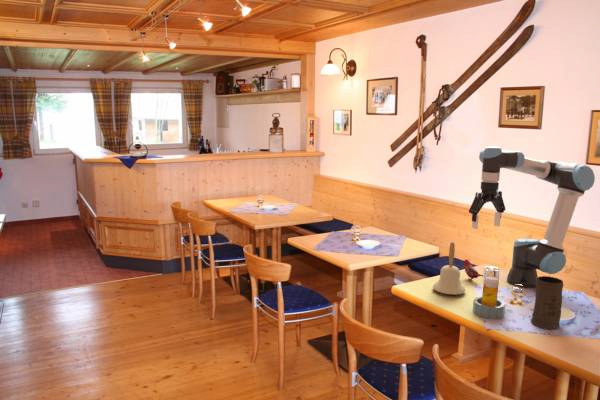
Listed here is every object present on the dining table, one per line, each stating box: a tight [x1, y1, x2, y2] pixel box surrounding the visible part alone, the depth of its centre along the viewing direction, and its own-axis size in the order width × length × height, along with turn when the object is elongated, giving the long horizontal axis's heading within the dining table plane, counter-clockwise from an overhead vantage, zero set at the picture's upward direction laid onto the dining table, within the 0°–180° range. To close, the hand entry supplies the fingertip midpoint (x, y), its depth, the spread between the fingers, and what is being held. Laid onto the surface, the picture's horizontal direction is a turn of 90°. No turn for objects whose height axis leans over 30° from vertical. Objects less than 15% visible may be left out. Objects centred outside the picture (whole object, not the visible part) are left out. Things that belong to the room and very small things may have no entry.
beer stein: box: [530, 275, 564, 330], centre depth 207 cm, size 15×11×20 cm
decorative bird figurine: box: [463, 259, 483, 282], centre depth 256 cm, size 3×18×10 cm, turn 15°
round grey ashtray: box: [472, 296, 506, 320], centre depth 216 cm, size 12×12×5 cm
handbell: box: [432, 241, 466, 296], centre depth 239 cm, size 15×15×25 cm
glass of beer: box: [481, 276, 500, 307], centre depth 215 cm, size 6×6×15 cm
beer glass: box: [482, 266, 500, 284], centre depth 232 cm, size 7×7×15 cm
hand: (485, 227), depth 227 cm, fingers open, 13 cm apart
